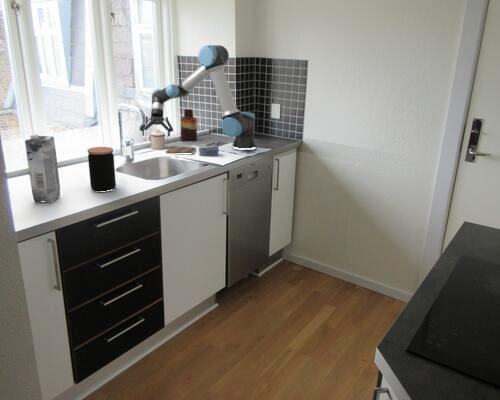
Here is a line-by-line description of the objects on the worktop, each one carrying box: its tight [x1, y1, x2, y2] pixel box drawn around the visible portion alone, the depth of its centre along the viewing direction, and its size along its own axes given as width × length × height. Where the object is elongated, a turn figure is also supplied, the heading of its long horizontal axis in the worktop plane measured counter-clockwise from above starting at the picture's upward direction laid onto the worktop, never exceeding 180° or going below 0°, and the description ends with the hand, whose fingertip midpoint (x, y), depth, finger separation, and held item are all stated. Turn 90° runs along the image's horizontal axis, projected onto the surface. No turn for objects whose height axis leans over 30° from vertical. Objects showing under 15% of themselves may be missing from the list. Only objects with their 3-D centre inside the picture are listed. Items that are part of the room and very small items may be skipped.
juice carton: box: [24, 133, 61, 203], centre depth 176 cm, size 9×10×27 cm
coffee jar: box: [87, 146, 117, 192], centre depth 192 cm, size 11×11×18 cm
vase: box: [180, 108, 198, 142], centre depth 291 cm, size 11×11×20 cm
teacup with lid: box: [148, 128, 166, 150], centre depth 269 cm, size 12×9×12 cm
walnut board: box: [166, 145, 196, 154], centre depth 264 cm, size 15×14×1 cm
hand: (155, 140), depth 267 cm, fingers open, 13 cm apart
